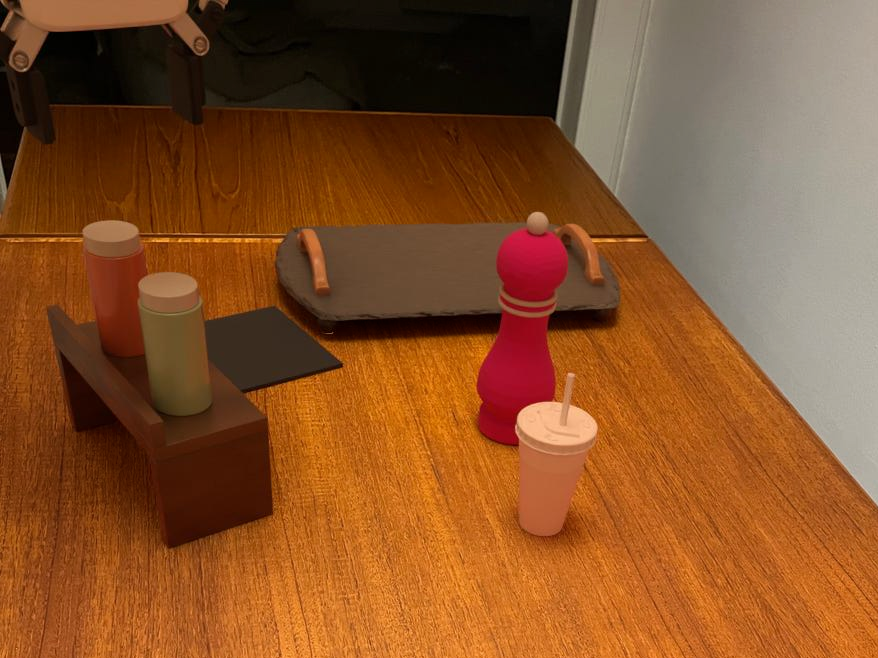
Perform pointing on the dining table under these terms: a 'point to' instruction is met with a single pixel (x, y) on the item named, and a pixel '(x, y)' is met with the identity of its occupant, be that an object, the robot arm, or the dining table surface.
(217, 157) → the dining table surface
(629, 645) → the dining table surface
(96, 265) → the terracotta shaker
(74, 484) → the dining table surface
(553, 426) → the smoothie
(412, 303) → the serving tray
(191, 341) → the green shaker
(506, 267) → the pepper mill
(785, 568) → the dining table surface
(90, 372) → the spice shelf
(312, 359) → the mat
